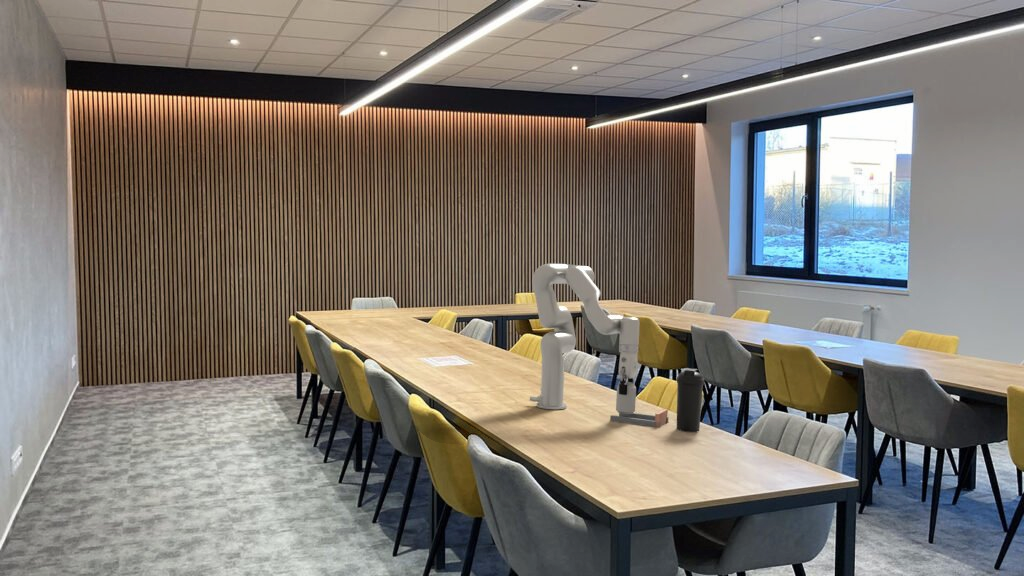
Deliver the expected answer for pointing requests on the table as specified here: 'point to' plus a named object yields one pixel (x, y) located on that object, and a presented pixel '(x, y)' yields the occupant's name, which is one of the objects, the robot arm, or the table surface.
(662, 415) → the channel
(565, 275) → the robot arm
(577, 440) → the table surface
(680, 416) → the water bottle
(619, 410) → the can
